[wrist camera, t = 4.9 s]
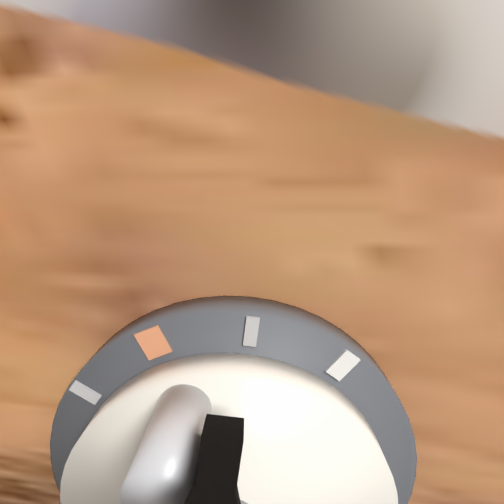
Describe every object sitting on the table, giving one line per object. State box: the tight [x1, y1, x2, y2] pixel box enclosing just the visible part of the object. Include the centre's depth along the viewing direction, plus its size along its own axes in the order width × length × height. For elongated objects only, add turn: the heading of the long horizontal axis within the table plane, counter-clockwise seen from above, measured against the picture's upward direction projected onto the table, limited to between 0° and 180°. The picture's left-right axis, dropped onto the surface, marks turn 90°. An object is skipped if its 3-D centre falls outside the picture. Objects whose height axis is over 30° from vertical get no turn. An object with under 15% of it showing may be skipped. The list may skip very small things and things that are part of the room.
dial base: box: [50, 296, 417, 504], centre depth 14 cm, size 16×16×2 cm
